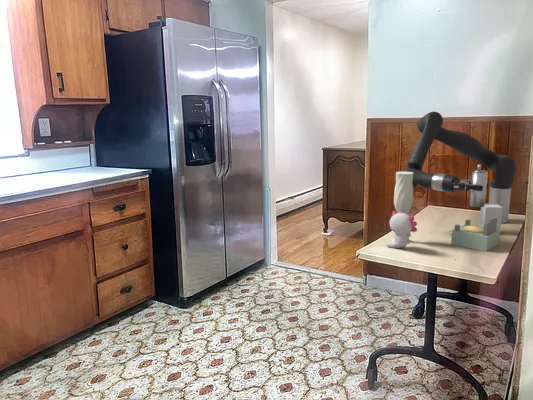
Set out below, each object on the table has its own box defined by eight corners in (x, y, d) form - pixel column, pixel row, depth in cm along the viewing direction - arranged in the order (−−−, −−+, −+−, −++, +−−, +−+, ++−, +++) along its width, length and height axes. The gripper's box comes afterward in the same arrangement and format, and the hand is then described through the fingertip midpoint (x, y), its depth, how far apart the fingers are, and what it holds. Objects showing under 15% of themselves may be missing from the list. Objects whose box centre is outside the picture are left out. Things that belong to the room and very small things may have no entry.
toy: (420, 251, 179) (422, 215, 176) (406, 254, 175) (407, 217, 172) (395, 242, 190) (396, 208, 187) (381, 245, 187) (382, 211, 184)
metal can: (472, 203, 187) (476, 163, 184) (486, 205, 183) (490, 164, 180) (467, 205, 183) (471, 164, 180) (481, 207, 179) (485, 165, 176)
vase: (388, 238, 197) (391, 171, 191) (406, 237, 198) (409, 171, 192) (395, 244, 188) (398, 174, 182) (414, 243, 189) (418, 173, 183)
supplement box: (500, 234, 200) (503, 207, 197) (482, 234, 201) (485, 206, 198) (495, 230, 207) (498, 203, 204) (478, 229, 208) (480, 203, 206)
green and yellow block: (464, 237, 196) (466, 213, 194) (498, 243, 187) (500, 218, 184) (451, 244, 187) (452, 219, 184) (485, 251, 177) (488, 224, 175)
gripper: (438, 176, 186) (479, 180, 174) (452, 172, 196) (492, 176, 184) (436, 193, 188) (478, 199, 176) (451, 188, 197) (491, 193, 186)
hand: (485, 187), depth 180 cm, fingers closed on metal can, 5 cm apart
